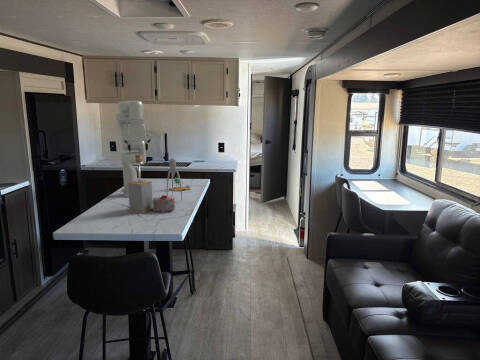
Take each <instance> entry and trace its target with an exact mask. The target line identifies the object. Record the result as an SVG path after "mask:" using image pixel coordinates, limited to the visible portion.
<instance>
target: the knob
mask: <svg viewBox="0 0 480 360" xmlns="http://www.w3.org/2000/svg"><path fill="white" fill-rule="evenodd" d="M141 156H142V155H135V159H136V162H135V164H138V165H137V170H138V171H137V176H138V180H139V183H141V180H142V179H141V178H142V177H141V176H142V175H141V165H140V164H143V162H142V157H141ZM143 165H144V164H143Z"/></svg>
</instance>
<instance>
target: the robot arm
mask: <svg viewBox="0 0 480 360" xmlns="http://www.w3.org/2000/svg"><path fill="white" fill-rule="evenodd" d="M144 109H145V108H144V104H143V102H142V101H140V100H120V101H118V104H117V110H118V111H117V113H116V115H115V120H116V123H117V125H118V128H119V131H120V139H121V148H122V149H123V150H124V151H128V152H124V153H122V154H121V155H120V162H121V167H122V176H123V188H121V190H120V192H121V193H122V192H123V193H122V197H125V198H129V190H128V183H130V182H133V181H137V180H138V171H137V169H136V168H135V167H134V166H138V164H135V162H136V159H135V155H142V156H141V157H142V162H143V164H140V166H143V165H145V164H146V163H147V154H146V153H147V151H148V150H149V144H150V143H151V140H152V139H153V136H152V135H149V134H147V131H146V127H145V126H146V125H145V124H144V120H143V119H144V118H143V117H144V113H145V111H144ZM147 138H148V140H147Z"/></svg>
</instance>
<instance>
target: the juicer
mask: <svg viewBox="0 0 480 360" xmlns="http://www.w3.org/2000/svg"><path fill="white" fill-rule="evenodd" d="M175 174H177V175H178V178H179V182H180V183H179V184H180V185H179V187H180V189H181V190H180V199H181V201H183V190H182V187H183V186H182V180H181V181H180V179H181V177H180V173H179V170H178V169H177V163H176V159H175V158H174V157H172V158H171V157H170V159H169V170H168V173H167V179H166V196H167V197H169V194H168V193H169V191H168V190H169V179H170V175H171V189H172V190H171V192H172V193H171V194H172V195H174V190H173V188H174V184H173V183H174V179H175ZM177 175H176V176H177Z"/></svg>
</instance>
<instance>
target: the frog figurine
mask: <svg viewBox="0 0 480 360" xmlns="http://www.w3.org/2000/svg"><path fill="white" fill-rule="evenodd" d="M180 181H181V183H184V181H183V180H182V179H181V178H180ZM173 185H175V186H173V191H181V189H180V182H179V178H178V175H176V176H174V179H173ZM177 185H178V186H177ZM181 187H182V191H183V190H184V191H191V190H192V189H191V187H190V186H189V185H188V184H186V185H185V186H181ZM168 190H170V191H172V188H168Z"/></svg>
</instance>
